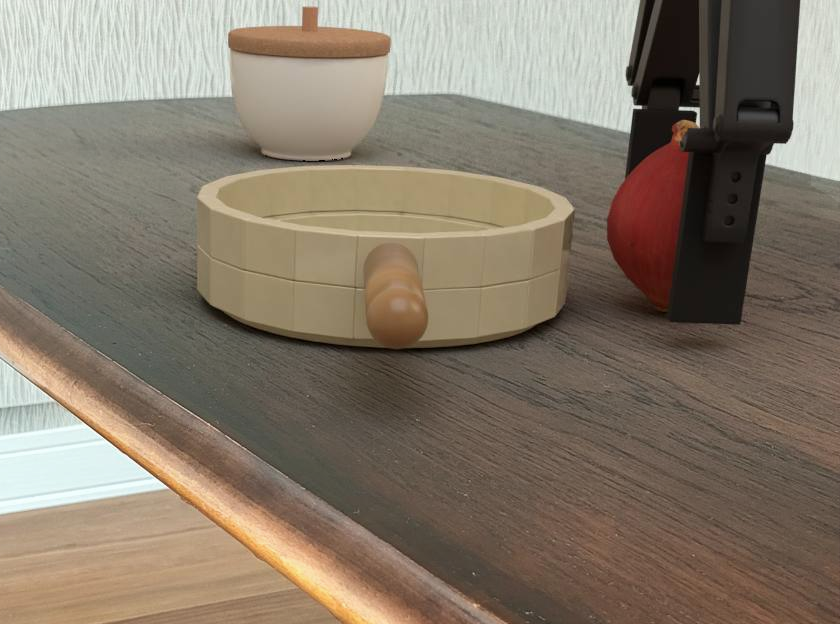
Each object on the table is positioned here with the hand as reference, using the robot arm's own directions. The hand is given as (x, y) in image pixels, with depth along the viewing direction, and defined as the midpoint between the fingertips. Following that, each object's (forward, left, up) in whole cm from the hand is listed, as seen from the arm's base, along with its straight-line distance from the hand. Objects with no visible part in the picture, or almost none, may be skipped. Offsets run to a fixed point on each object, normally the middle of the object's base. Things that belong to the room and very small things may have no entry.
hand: (672, 285), depth 62 cm
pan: (+12, 0, -1) cm, 13 cm away
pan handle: (+13, +12, +1) cm, 18 cm away
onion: (0, 0, -1) cm, 1 cm away
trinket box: (+16, -39, -1) cm, 42 cm away
